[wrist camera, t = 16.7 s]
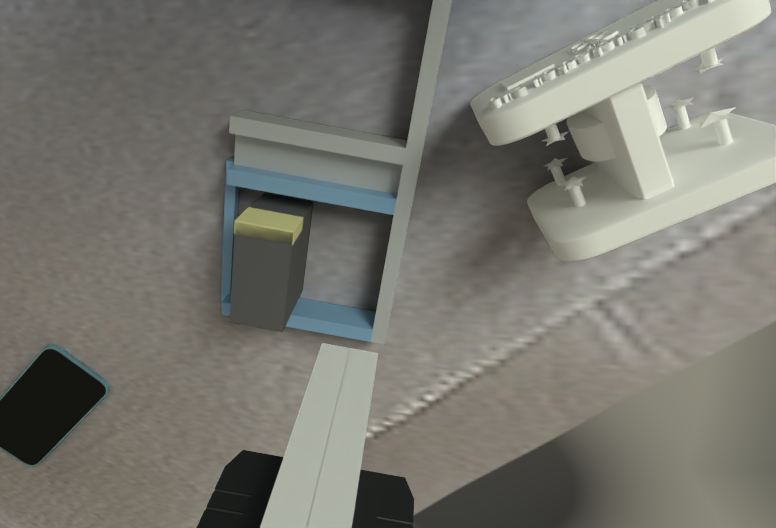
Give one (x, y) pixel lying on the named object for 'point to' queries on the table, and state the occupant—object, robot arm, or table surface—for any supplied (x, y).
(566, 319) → the table surface
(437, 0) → the grey frame
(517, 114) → the cable organizer
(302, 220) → the yellow-capped grey block
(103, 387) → the smartphone
